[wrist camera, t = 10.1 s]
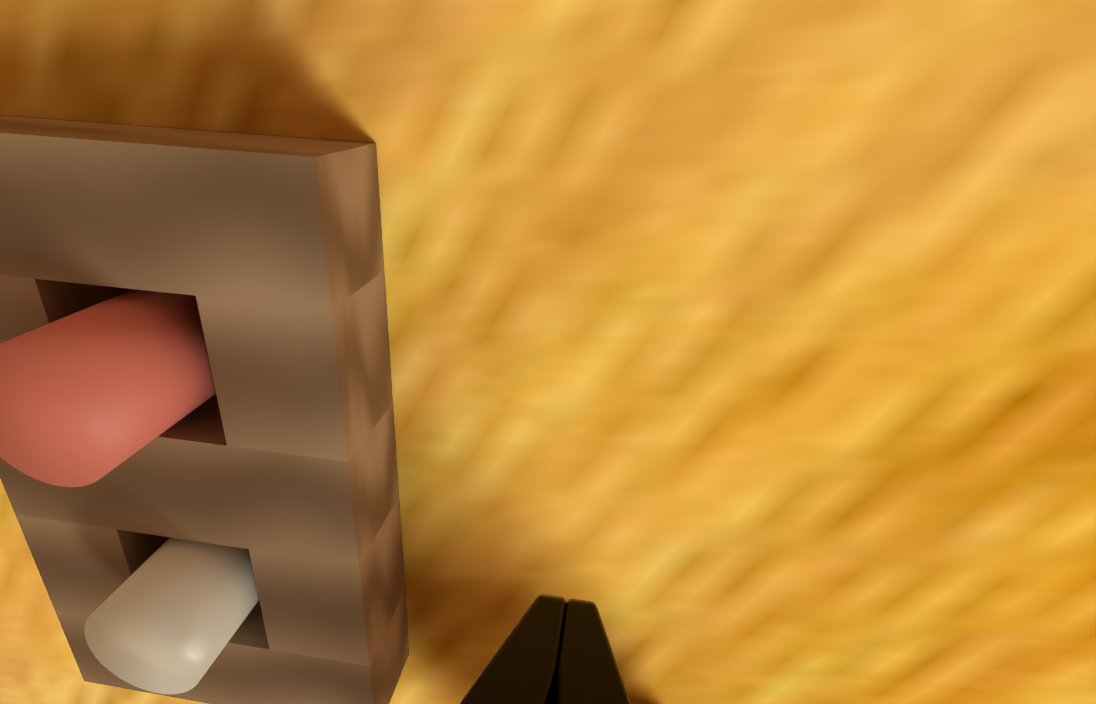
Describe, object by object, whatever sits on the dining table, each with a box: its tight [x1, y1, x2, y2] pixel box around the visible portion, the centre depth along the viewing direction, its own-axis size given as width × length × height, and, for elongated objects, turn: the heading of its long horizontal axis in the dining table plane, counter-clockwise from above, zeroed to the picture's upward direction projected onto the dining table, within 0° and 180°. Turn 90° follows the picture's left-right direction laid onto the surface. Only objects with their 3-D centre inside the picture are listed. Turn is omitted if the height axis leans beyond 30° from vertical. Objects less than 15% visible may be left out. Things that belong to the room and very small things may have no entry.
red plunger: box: [0, 289, 216, 487], centre depth 19 cm, size 4×4×6 cm
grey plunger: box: [84, 537, 259, 694], centre depth 24 cm, size 4×4×6 cm
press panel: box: [0, 115, 409, 704], centre depth 23 cm, size 24×14×4 cm, turn 177°
